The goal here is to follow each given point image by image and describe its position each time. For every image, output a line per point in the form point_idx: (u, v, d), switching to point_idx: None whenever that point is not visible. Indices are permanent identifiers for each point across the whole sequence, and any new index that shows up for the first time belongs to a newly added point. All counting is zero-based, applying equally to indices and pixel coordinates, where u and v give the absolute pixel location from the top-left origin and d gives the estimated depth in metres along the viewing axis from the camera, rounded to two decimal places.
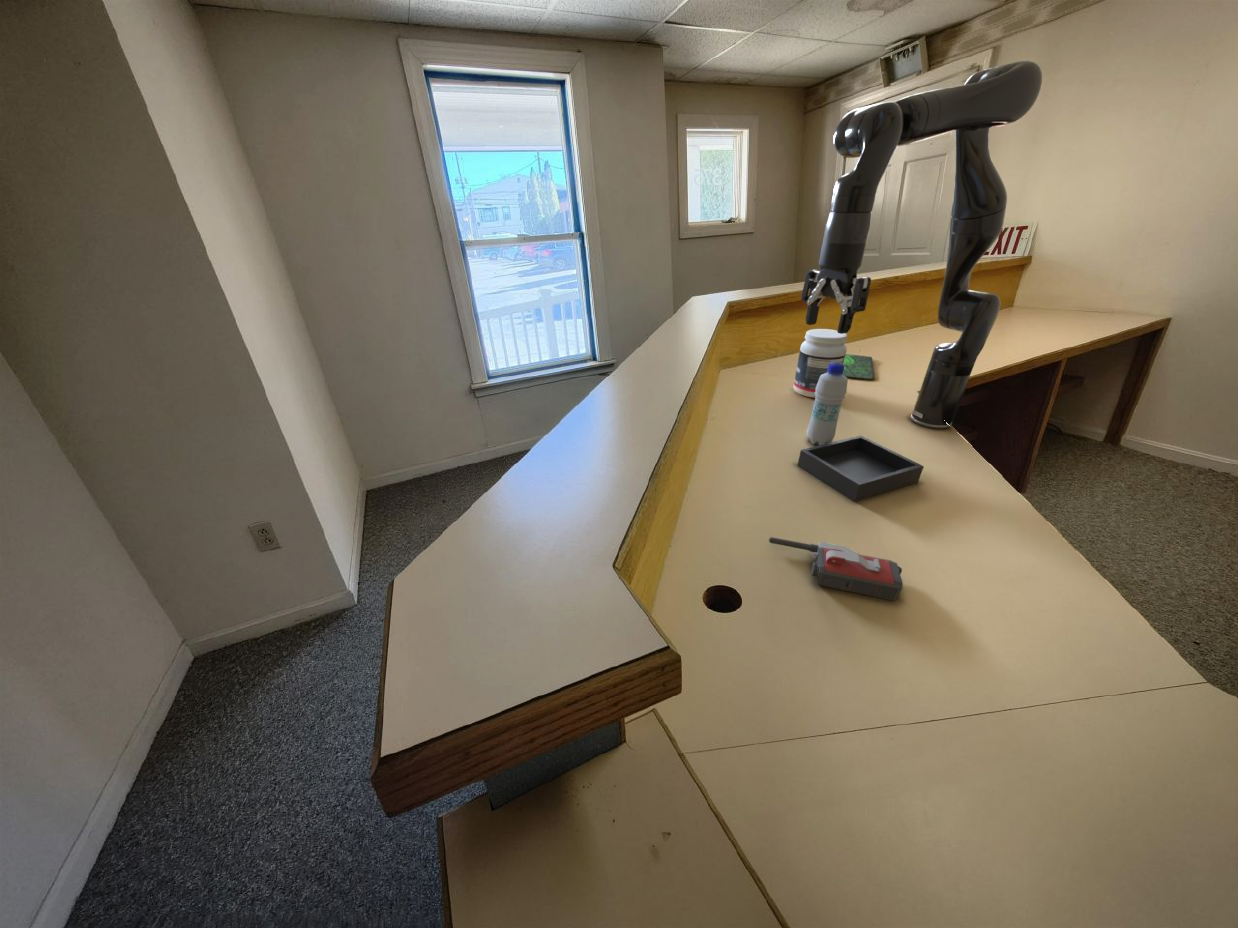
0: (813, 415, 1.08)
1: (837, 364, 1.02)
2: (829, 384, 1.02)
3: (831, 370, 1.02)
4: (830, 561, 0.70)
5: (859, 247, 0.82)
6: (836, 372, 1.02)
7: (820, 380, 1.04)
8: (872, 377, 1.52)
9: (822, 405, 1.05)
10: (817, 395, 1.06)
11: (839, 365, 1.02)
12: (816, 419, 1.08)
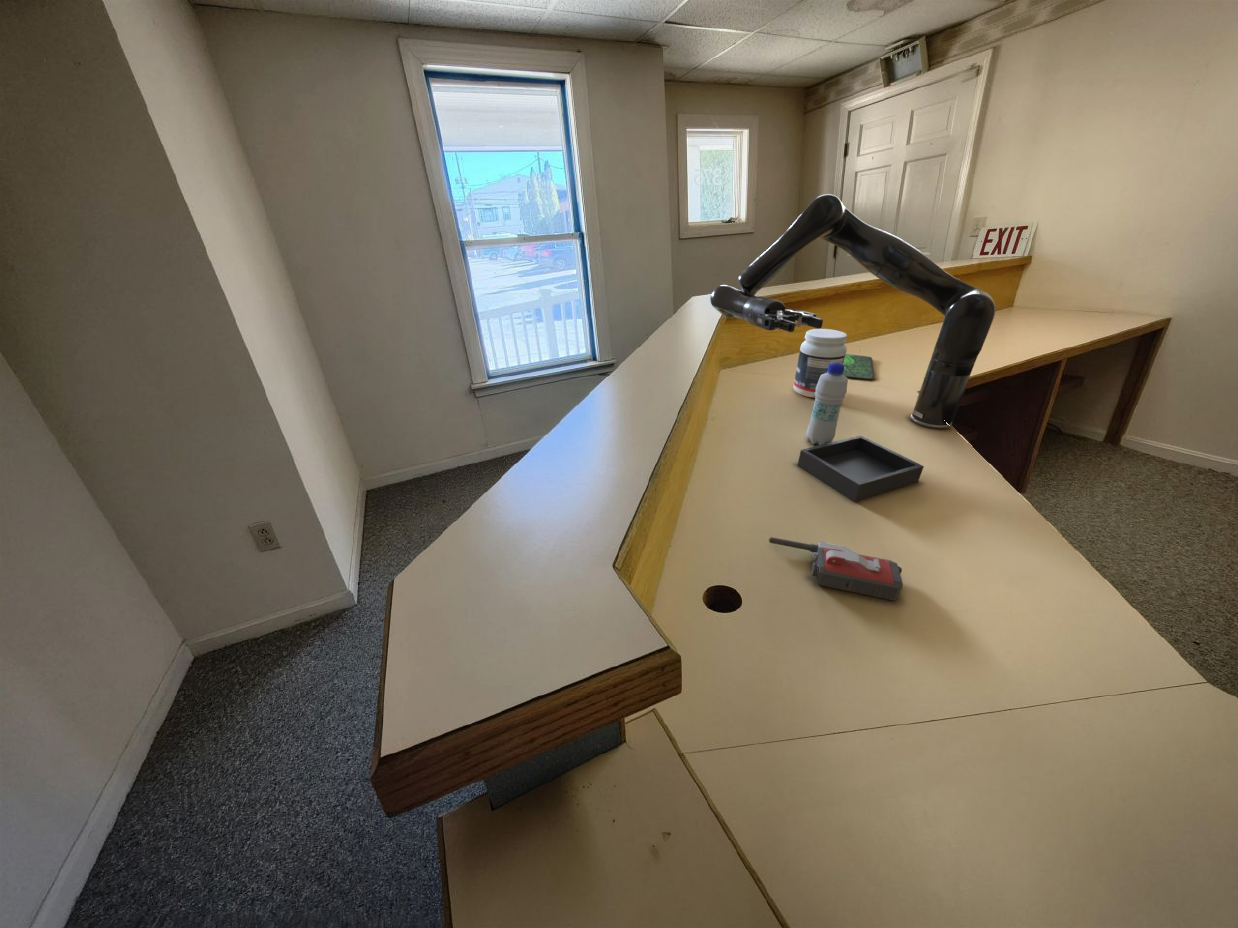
0: (813, 415, 1.08)
1: (837, 364, 1.02)
2: (829, 384, 1.02)
3: (831, 370, 1.02)
4: (830, 561, 0.70)
5: (754, 314, 1.19)
6: (836, 372, 1.02)
7: (820, 380, 1.04)
8: (872, 377, 1.52)
9: (822, 405, 1.05)
10: (817, 395, 1.06)
11: (839, 365, 1.02)
12: (816, 419, 1.08)
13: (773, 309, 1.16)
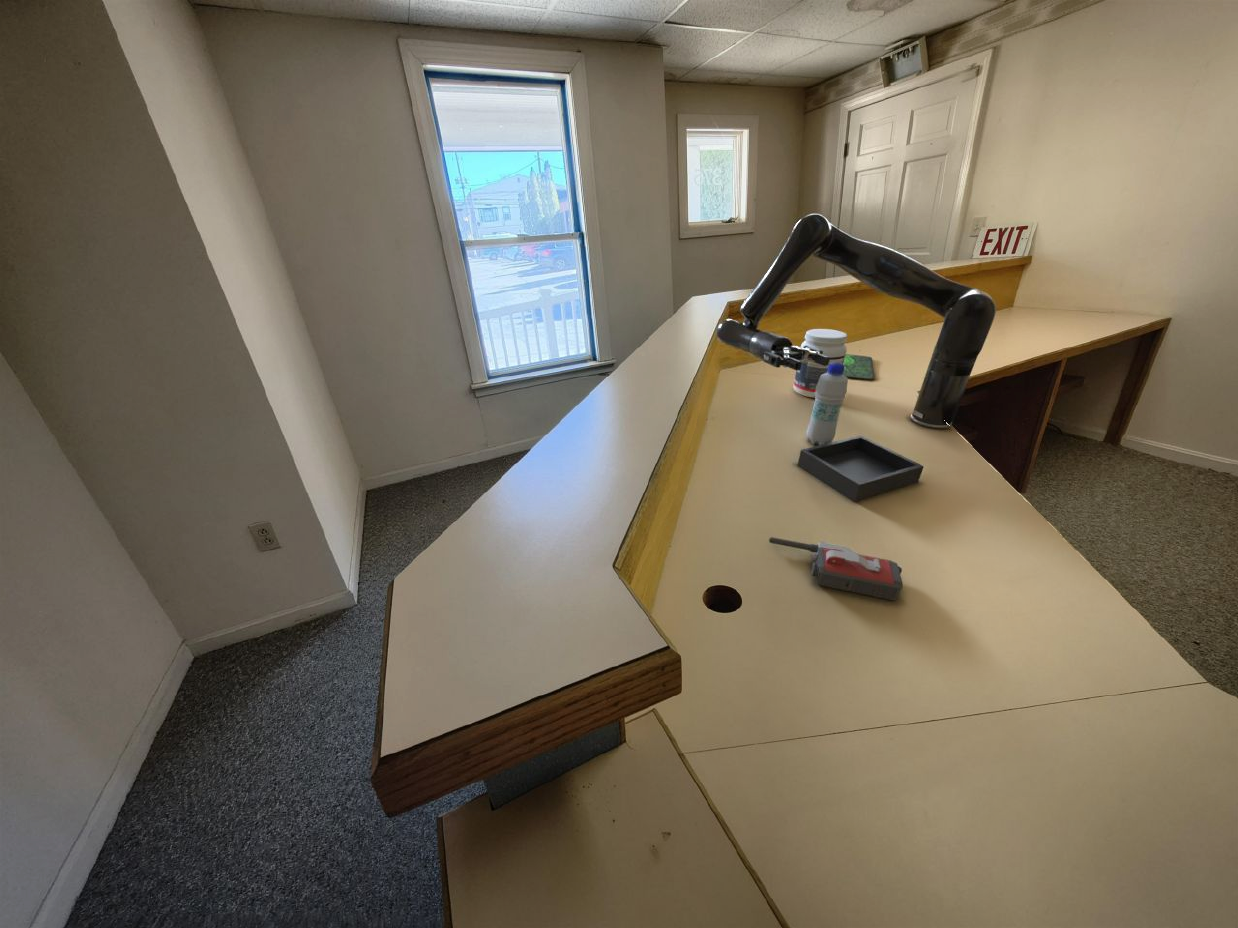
0: (813, 415, 1.08)
1: (837, 364, 1.02)
2: (829, 384, 1.02)
3: (831, 370, 1.02)
4: (830, 561, 0.70)
5: (761, 350, 1.20)
6: (836, 372, 1.02)
7: (820, 380, 1.04)
8: (872, 377, 1.52)
9: (822, 405, 1.05)
10: (817, 395, 1.06)
11: (839, 365, 1.02)
12: (816, 419, 1.08)
13: (780, 345, 1.17)
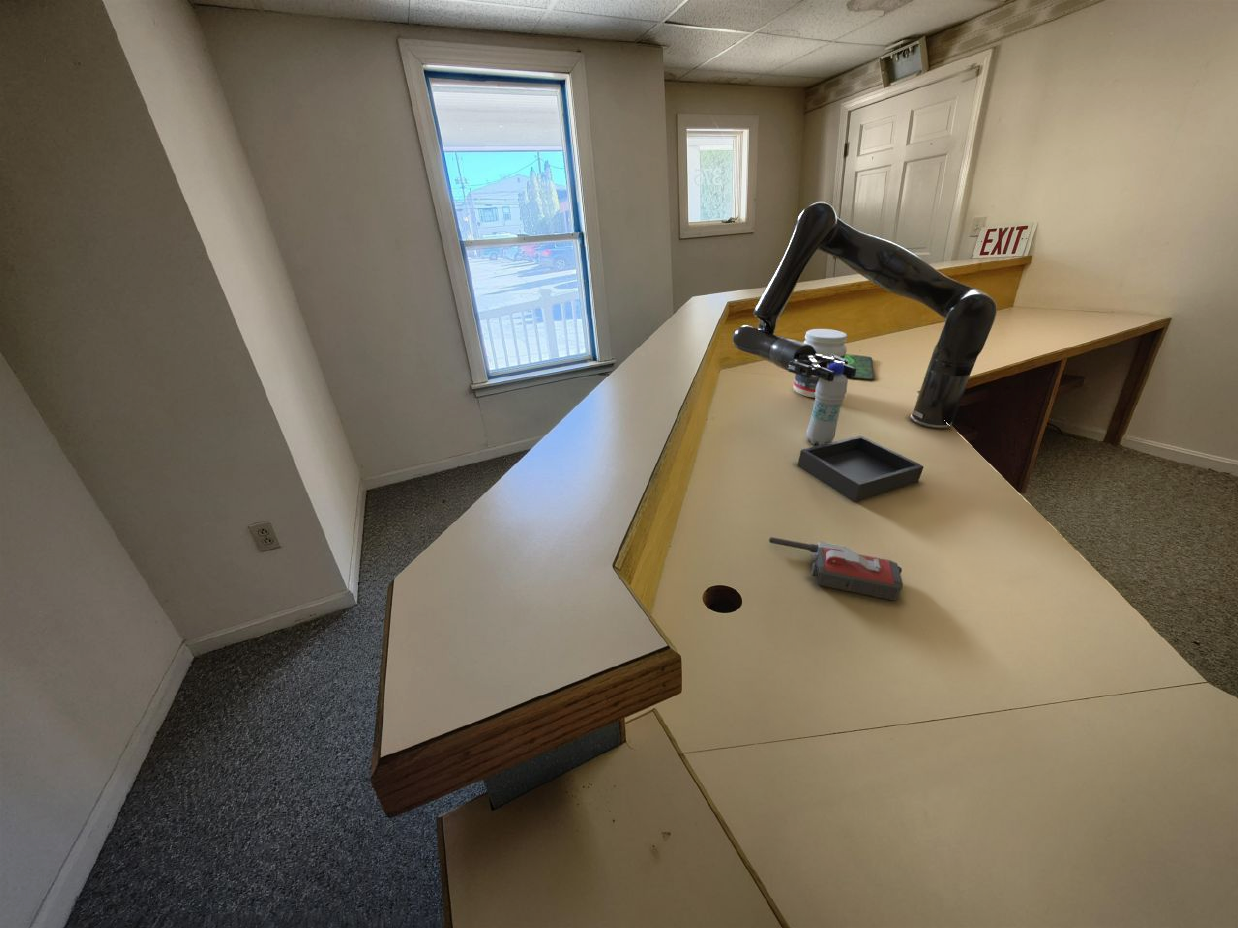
0: (813, 415, 1.08)
1: (837, 364, 1.02)
2: (829, 384, 1.02)
3: (831, 370, 1.02)
4: (830, 561, 0.70)
5: (782, 358, 1.13)
6: (836, 372, 1.02)
7: (820, 380, 1.04)
8: (872, 377, 1.52)
9: (822, 405, 1.05)
10: (817, 395, 1.06)
11: (839, 365, 1.02)
12: (816, 419, 1.08)
13: (803, 353, 1.10)
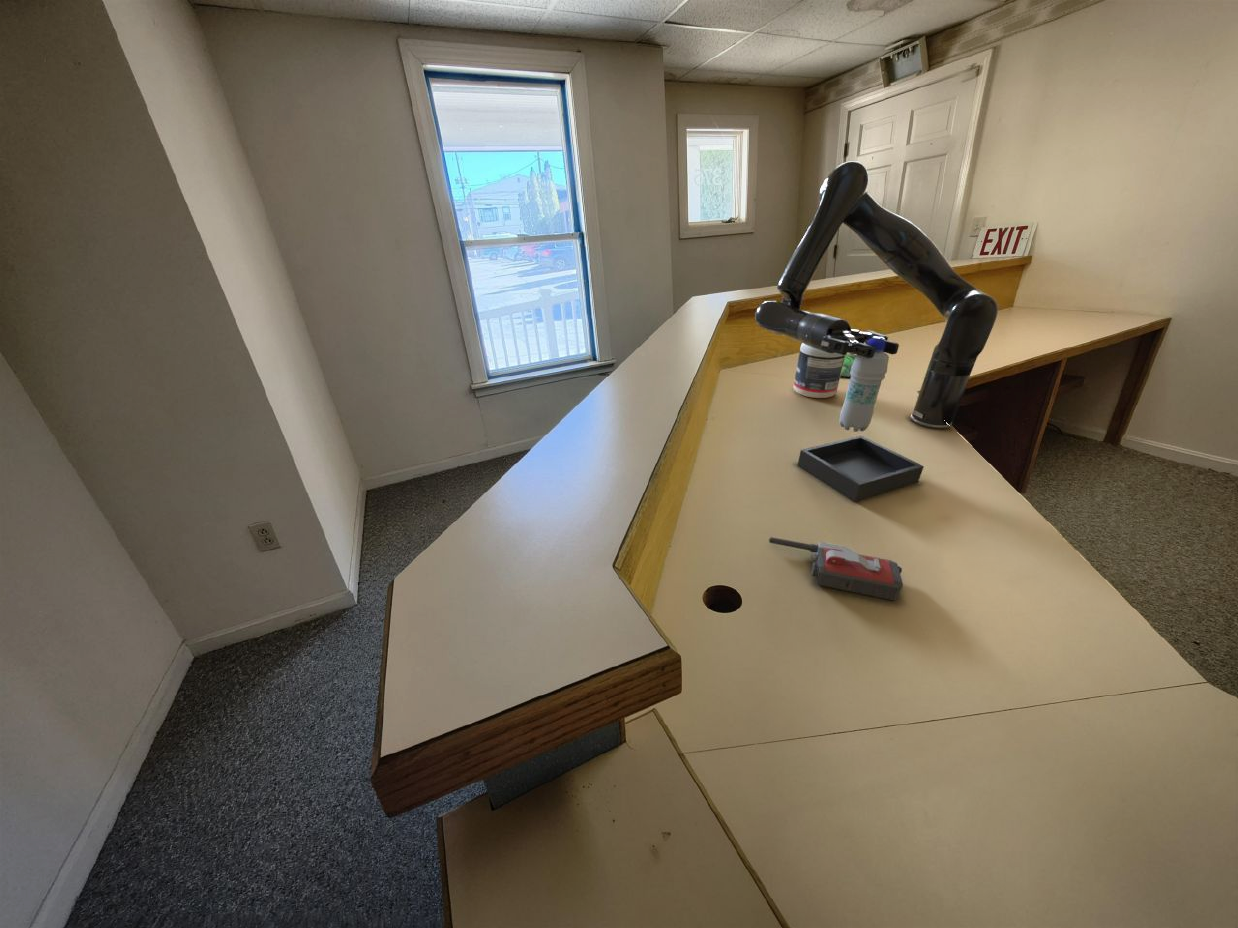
0: (848, 397, 0.98)
1: (878, 339, 0.91)
2: (868, 362, 0.91)
3: None
4: (830, 561, 0.70)
5: (813, 335, 1.02)
6: (876, 348, 0.91)
7: (857, 358, 0.93)
8: None
9: (859, 385, 0.94)
10: (853, 375, 0.95)
11: (880, 340, 0.91)
12: (852, 402, 0.97)
13: (837, 329, 0.99)
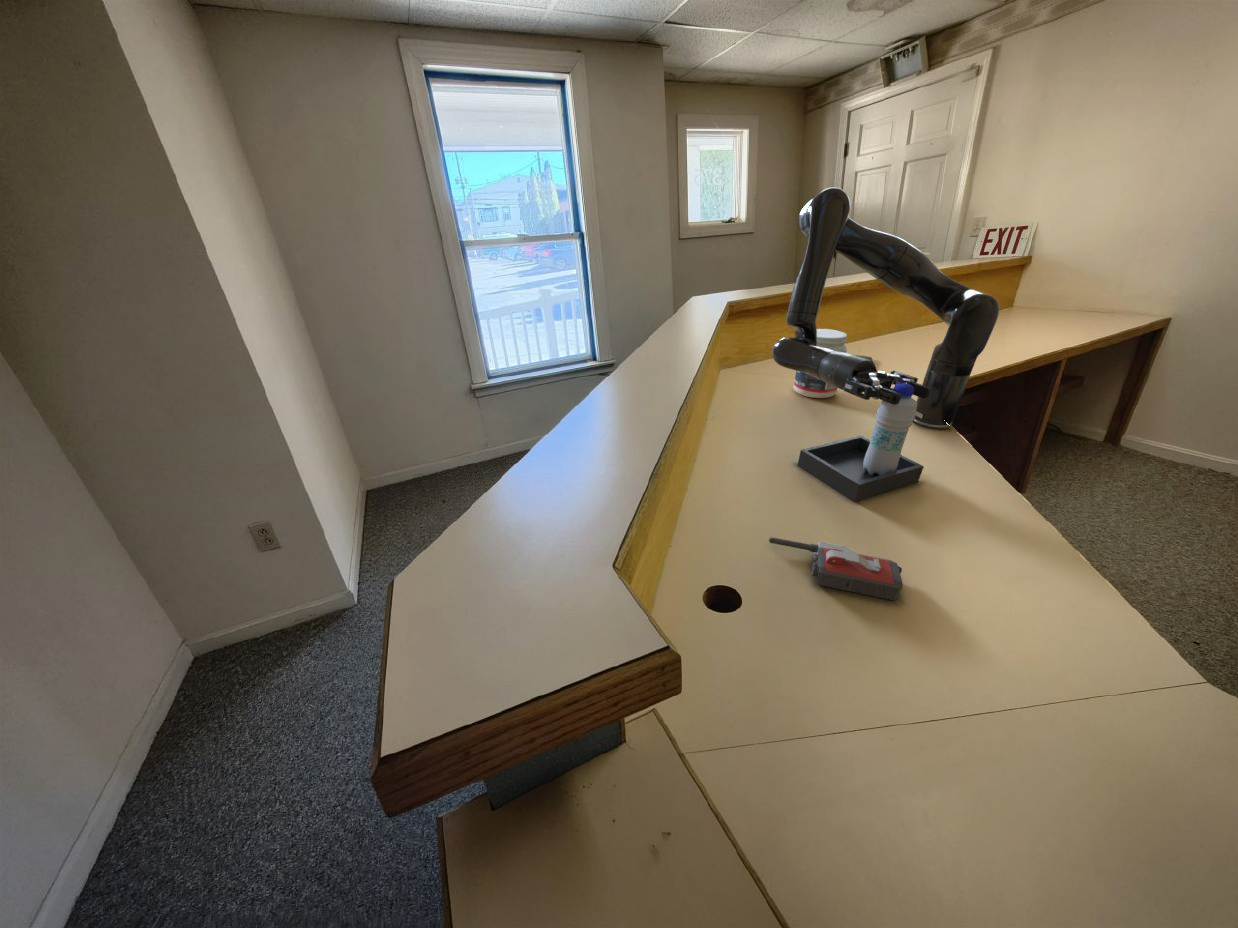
0: (873, 443, 0.93)
1: (906, 385, 0.87)
2: (896, 408, 0.87)
3: (898, 392, 0.87)
4: (830, 561, 0.70)
5: (836, 375, 0.98)
6: (904, 394, 0.87)
7: (884, 403, 0.89)
8: None
9: (885, 431, 0.90)
10: (879, 420, 0.91)
11: (908, 386, 0.87)
12: (877, 448, 0.93)
13: (862, 370, 0.95)
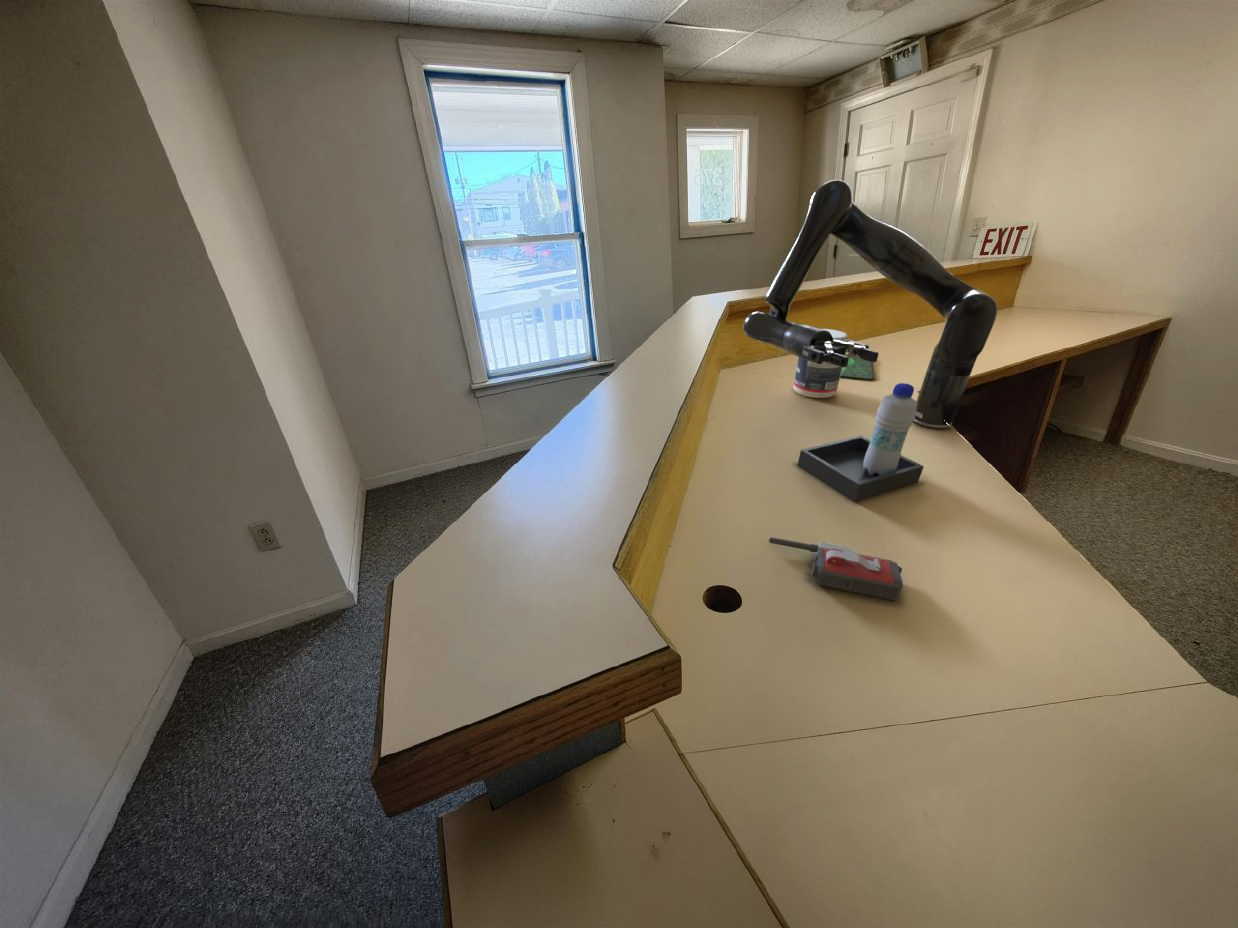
0: (873, 443, 0.93)
1: (906, 385, 0.87)
2: (896, 408, 0.87)
3: (898, 392, 0.87)
4: (830, 561, 0.70)
5: (797, 345, 1.07)
6: (904, 394, 0.87)
7: (884, 403, 0.89)
8: (872, 377, 1.52)
9: (885, 431, 0.90)
10: (879, 420, 0.91)
11: (908, 386, 0.87)
12: (877, 448, 0.93)
13: (819, 339, 1.04)
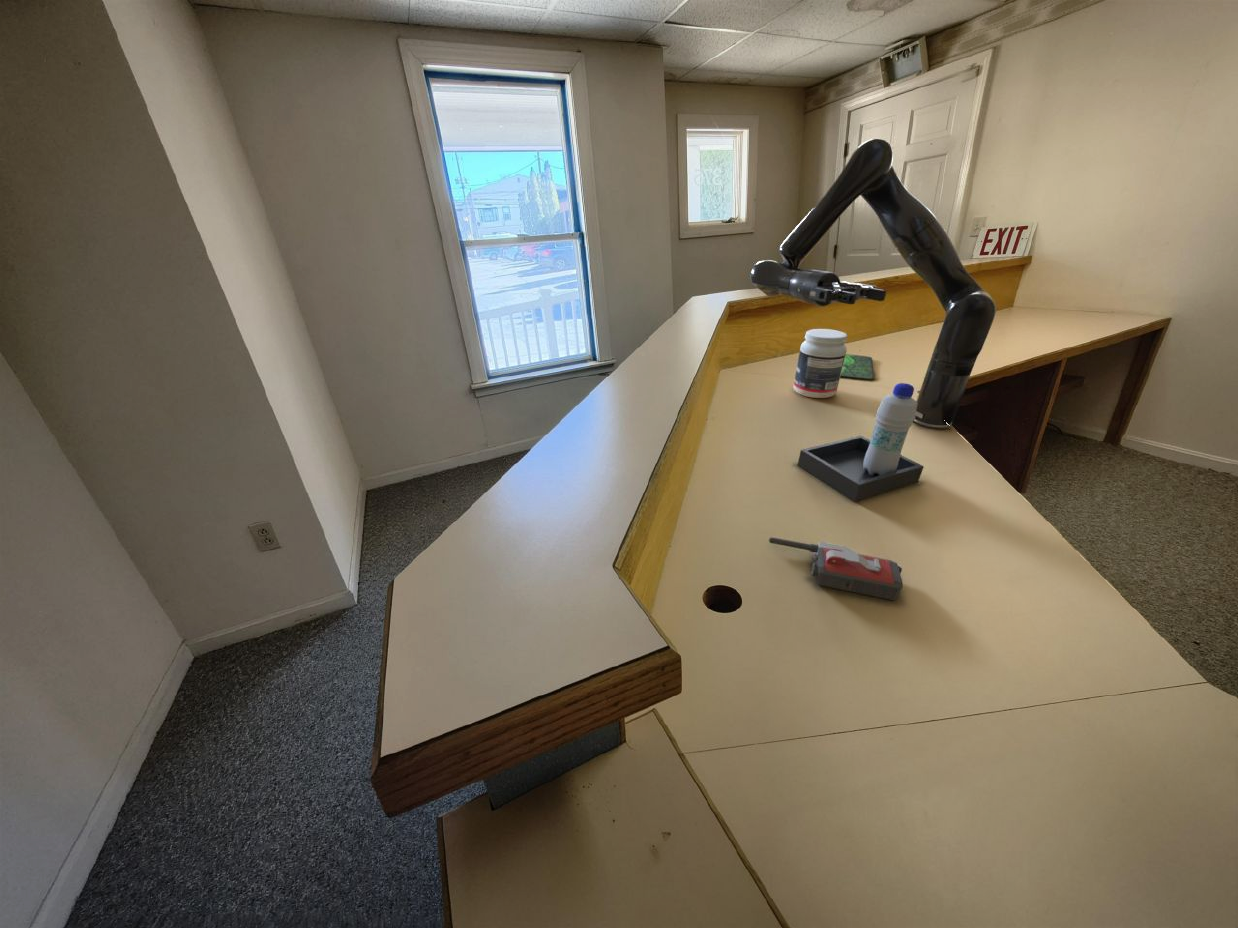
0: (873, 443, 0.93)
1: (906, 385, 0.87)
2: (896, 408, 0.87)
3: (898, 392, 0.87)
4: (830, 561, 0.70)
5: (804, 288, 1.07)
6: (905, 394, 0.87)
7: (884, 403, 0.89)
8: (872, 377, 1.52)
9: (885, 431, 0.90)
10: (879, 420, 0.91)
11: (908, 386, 0.87)
12: (877, 448, 0.93)
13: (827, 282, 1.04)
